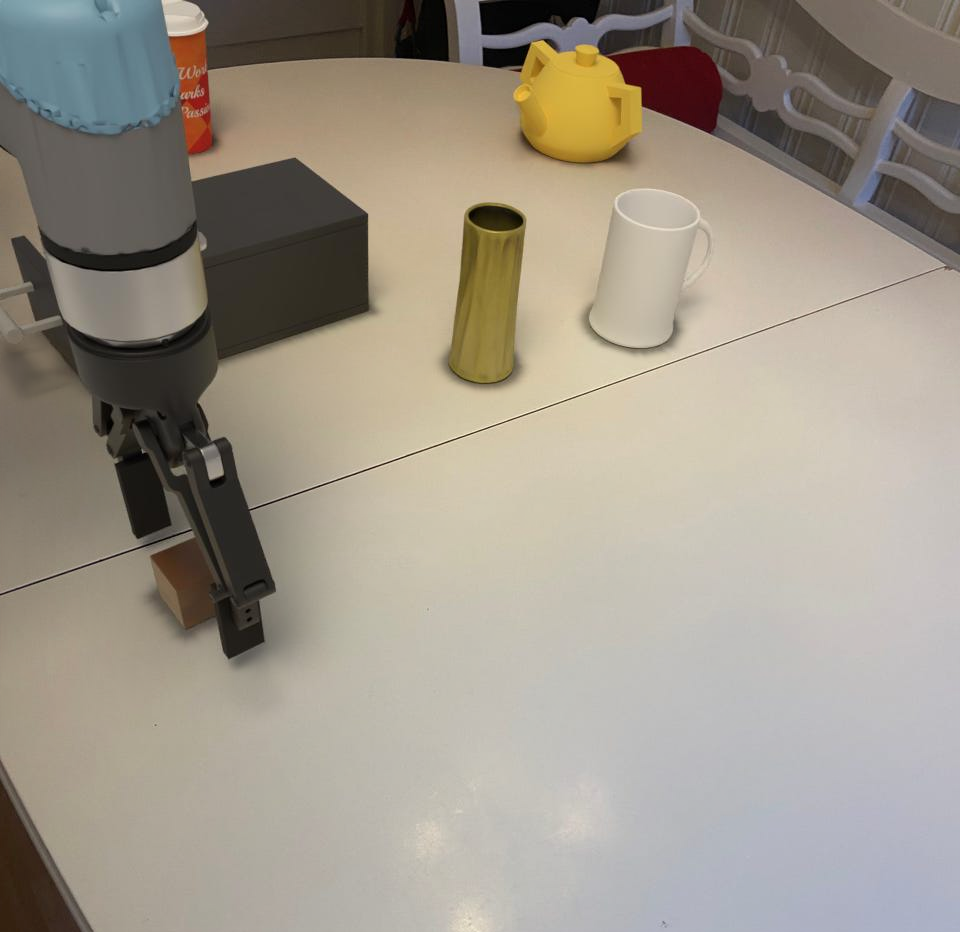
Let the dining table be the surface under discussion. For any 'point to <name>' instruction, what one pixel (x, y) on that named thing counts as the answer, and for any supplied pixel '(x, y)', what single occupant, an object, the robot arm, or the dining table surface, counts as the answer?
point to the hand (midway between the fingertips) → (196, 585)
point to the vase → (488, 292)
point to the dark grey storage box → (279, 253)
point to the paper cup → (191, 70)
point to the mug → (646, 266)
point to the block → (184, 582)
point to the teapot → (576, 104)
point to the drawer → (35, 301)
